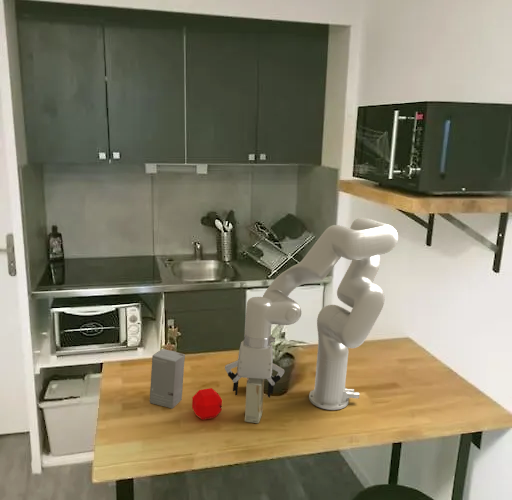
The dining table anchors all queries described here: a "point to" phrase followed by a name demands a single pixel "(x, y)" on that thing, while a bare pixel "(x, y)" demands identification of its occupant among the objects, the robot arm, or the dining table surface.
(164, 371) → the skincare box
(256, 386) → the skincare box
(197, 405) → the ball
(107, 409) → the dining table surface
